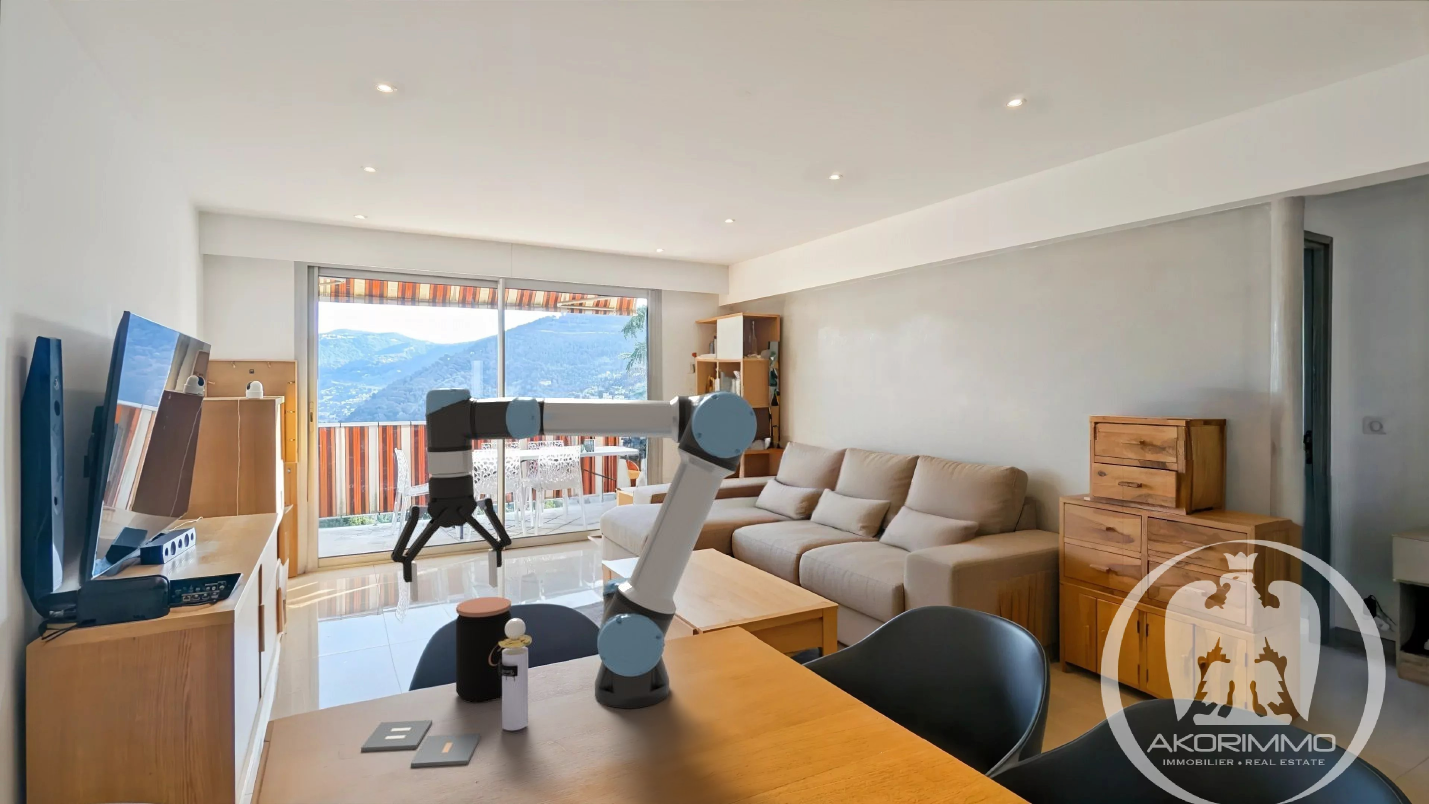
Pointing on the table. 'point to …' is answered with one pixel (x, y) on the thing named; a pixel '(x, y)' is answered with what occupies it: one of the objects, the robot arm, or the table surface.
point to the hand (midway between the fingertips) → (455, 592)
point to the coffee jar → (480, 647)
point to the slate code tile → (397, 735)
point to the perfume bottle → (514, 675)
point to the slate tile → (446, 750)
